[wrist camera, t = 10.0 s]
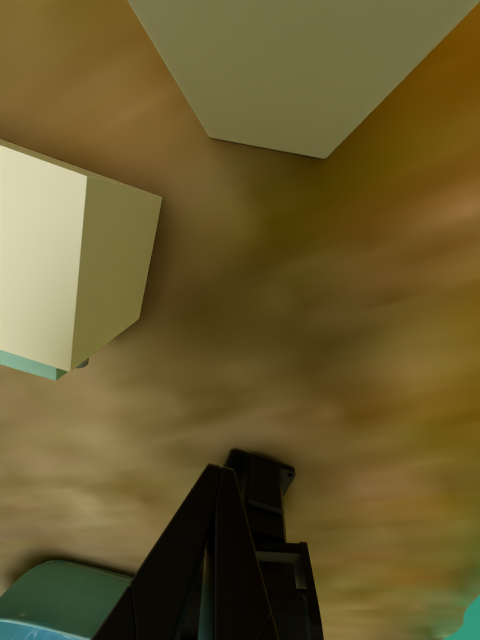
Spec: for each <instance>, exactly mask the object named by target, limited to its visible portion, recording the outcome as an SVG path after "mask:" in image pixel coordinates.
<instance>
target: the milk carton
mask: <svg viewBox="0 0 480 640" xmlns="http://www.w3.org/2000/svg"><path fill="white" fill-rule="evenodd" d="M127 1H128V2H129V4H130V6H131V7H132V9H133V11H134V12H135V14H136V16H137V17H138V19H139V21H140V22H141V24H142V26H143V27H144V29H145V31H146V33H147V34H148V36H149V38H150V39H151V41H152V43H153V44H154V46H155V48H156V49H157V51H158V53H159V54H160V56H161V58H162V59H163V61H164V63H165V64H166V66H167V68H168V69H169V71H170V73H171V74H172V76H173V78H174V80H175V81H176V83H177V85H178V86H179V88H180V90H181V91H182V93H183V95H184V96H185V98H186V100H187V101H188V103H189V105H190V106H191V108H192V110H193V111H194V113H195V115H196V116H197V118H198V120H199V121H200V123H201V125H202V126H203V128H204V130H205V132H206V133H207V135H208V136H209V137H210V138H215V139H220V140H226V141H231V142H236V143H242V144H247V145H252V146H258V147H263V148H268V149H274V150H279V151H284V152H290V153H295V154H301V155H306V156H311V157H317V158H322V159H325V158H327V157H328V156H329V155H330V154H331V153H332V152H333V151H334V150H335V149H336V148H337V147H338V146H339V145H340V143H341V142H342V141H343V140H344V139H345V138H346V137H347V136H348V135H349V134H350V133H351V132H352V131H353V130H354V129H355V128H356V127H357V126H358V125H359V124H360V123H361V122H362V121H363V120H364V119H365V118H366V117H367V116H368V115H369V114H370V113H371V112H372V111H373V110H374V109H375V108H376V107H377V106H378V105H379V104H380V103H381V102H382V101H383V100H384V99H385V98H386V97H387V96H388V95H389V93H390V92H391V91H392V90H393V89H394V88H395V87H396V86H397V85H398V84H399V83H400V82H401V81H402V80H403V79H404V78H405V77H406V76H407V75H408V74H409V73H410V72H411V71H412V70H413V69H414V68H415V67H416V66H417V65H418V64H419V63H420V62H421V61H422V60H423V59H424V58H425V57H426V56H427V55H428V54H429V53H430V52H431V51H432V50H433V49H434V48H435V47H436V46H437V45H438V43H439V42H440V41H441V40H442V39H443V38H444V37H445V36H446V35H447V34H448V33H449V32H450V31H451V30H452V29H453V28H454V27H455V26H456V25H457V24H458V23H459V22H460V21H461V20H462V19H463V18H464V17H465V16H466V15H467V14H468V13H469V12H470V11H471V10H472V9H473V8H474V7H475V6H476V5H477V4H478V3H479V2H480V0H127Z"/></svg>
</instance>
